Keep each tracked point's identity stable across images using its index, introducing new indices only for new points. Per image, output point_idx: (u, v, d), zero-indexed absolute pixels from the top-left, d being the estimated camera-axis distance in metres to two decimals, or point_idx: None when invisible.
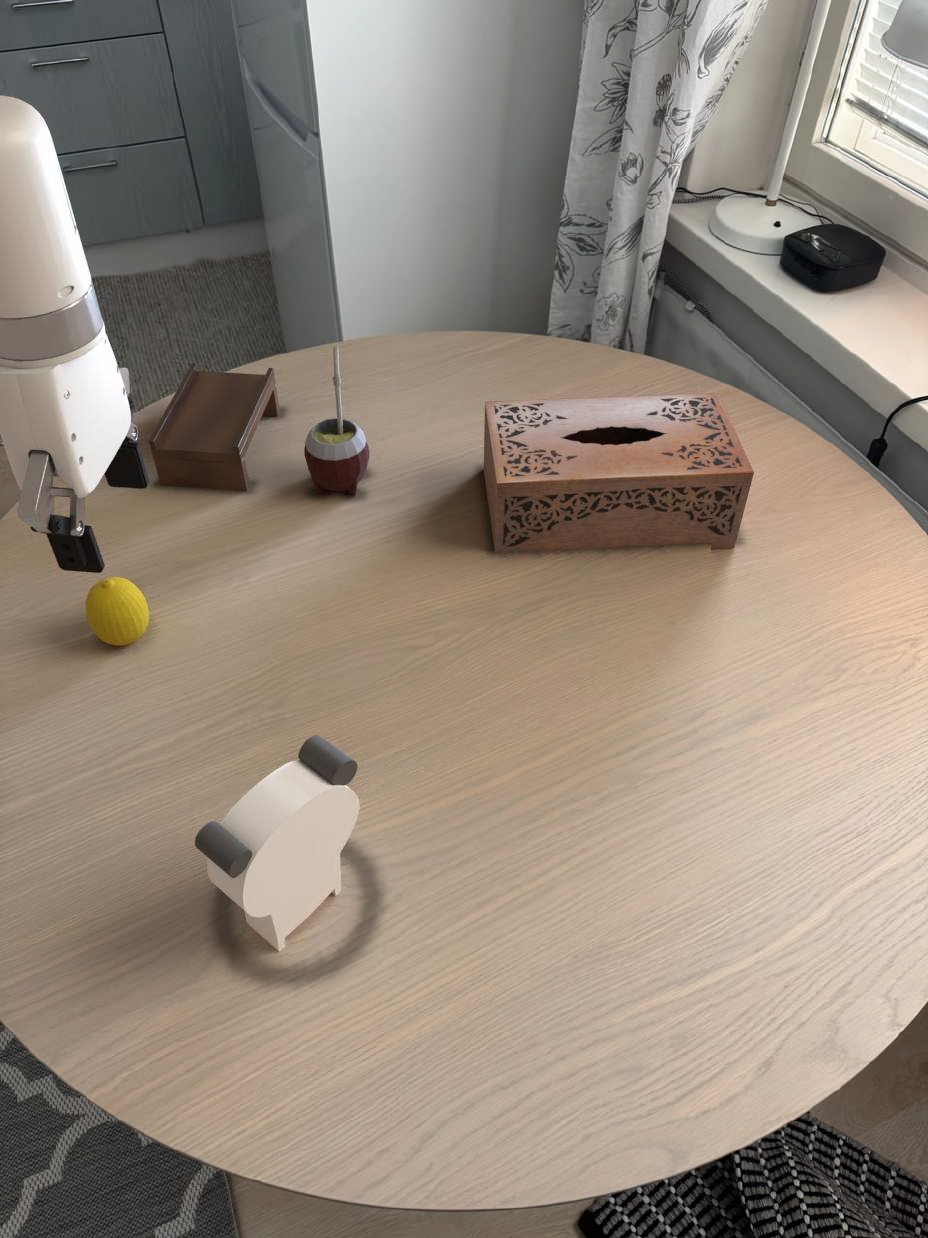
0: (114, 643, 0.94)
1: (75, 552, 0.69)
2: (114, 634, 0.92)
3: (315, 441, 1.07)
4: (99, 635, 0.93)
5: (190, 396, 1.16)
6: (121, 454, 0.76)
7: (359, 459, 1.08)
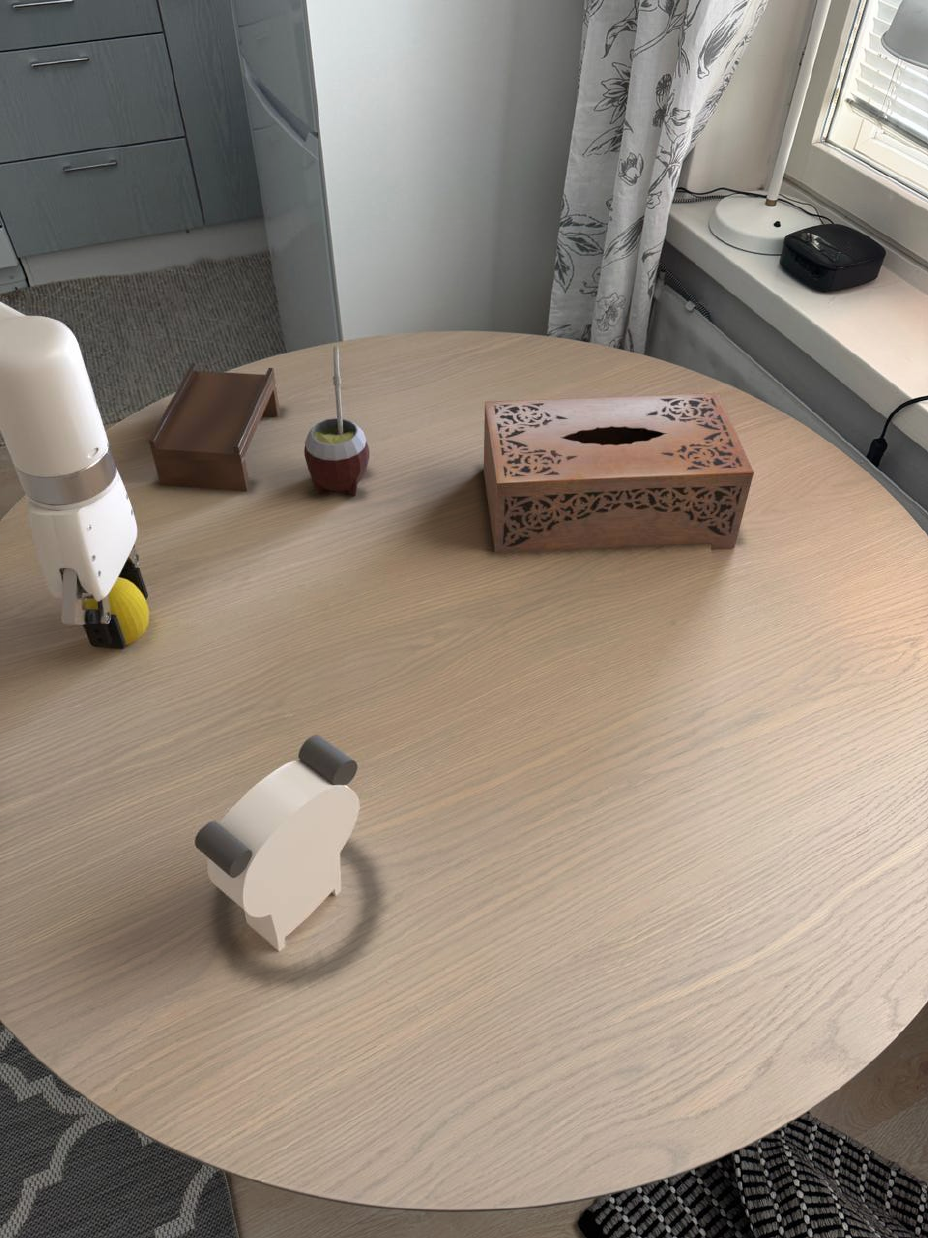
0: None
1: (103, 635, 0.90)
2: None
3: (315, 441, 1.07)
4: None
5: (190, 396, 1.16)
6: (125, 576, 0.94)
7: (359, 459, 1.08)
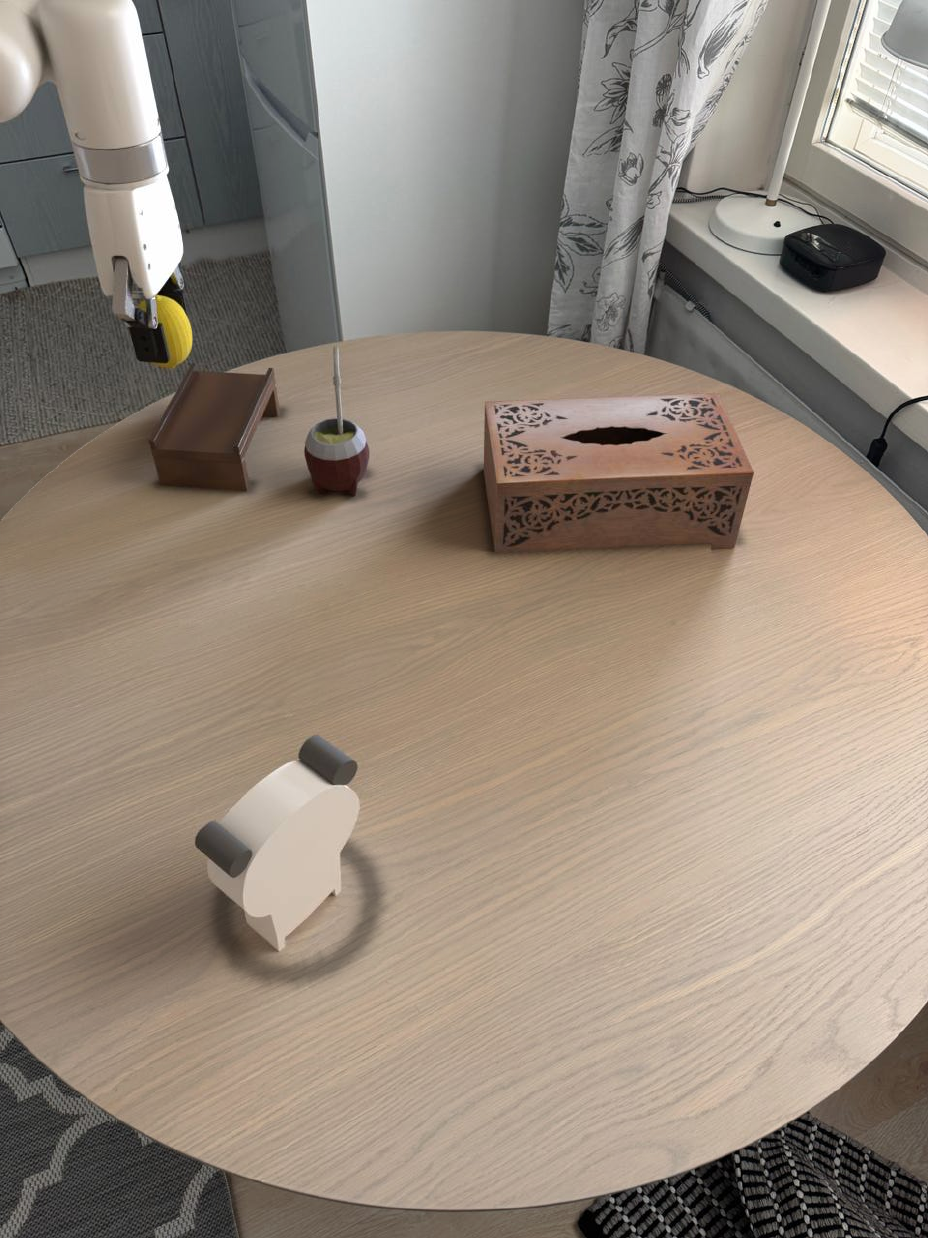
0: None
1: (150, 343, 0.94)
2: None
3: (315, 441, 1.07)
4: None
5: (190, 396, 1.16)
6: None
7: (359, 459, 1.08)
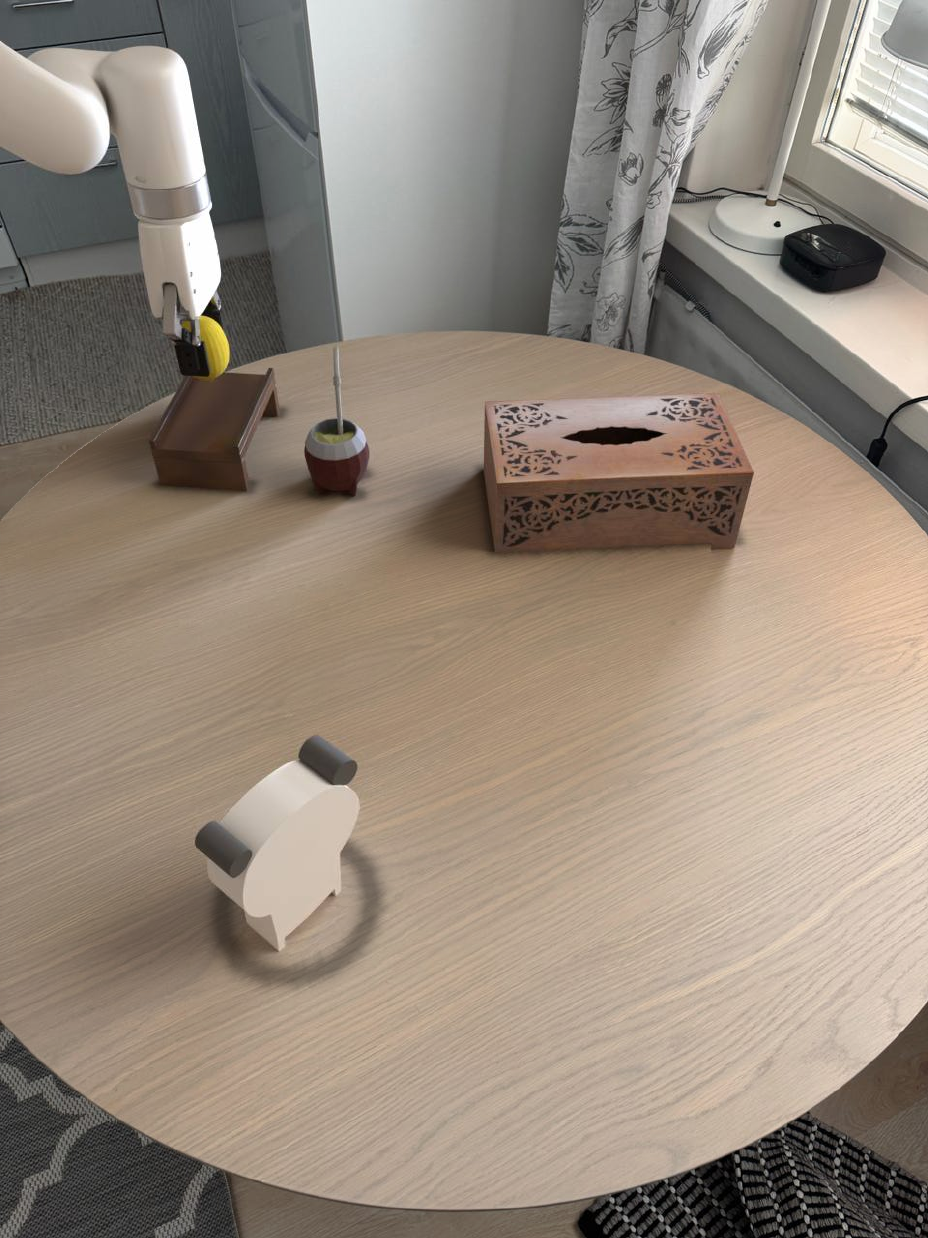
0: None
1: (193, 359, 1.05)
2: None
3: (315, 441, 1.07)
4: None
5: (190, 396, 1.16)
6: None
7: (359, 459, 1.08)
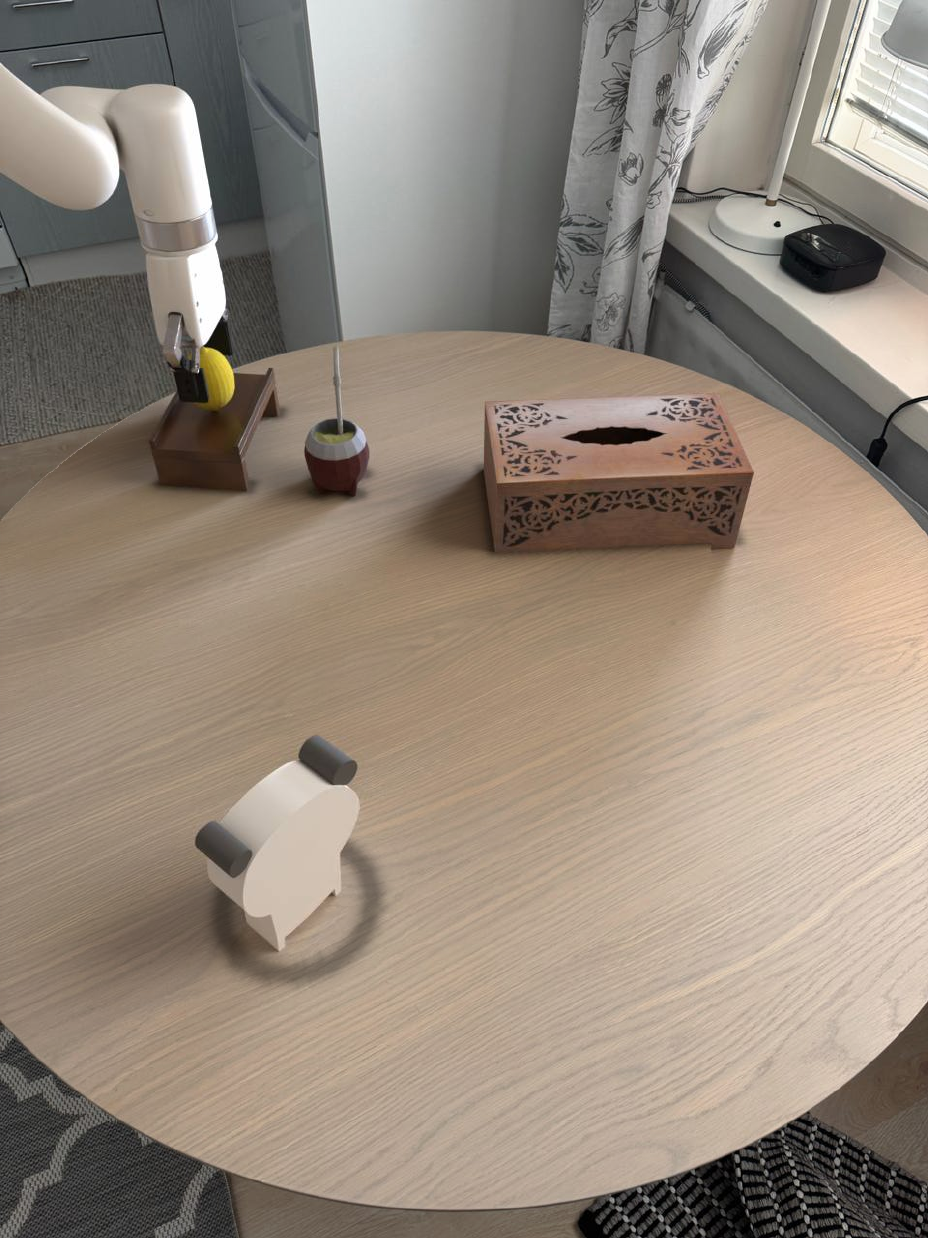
0: (206, 405, 1.11)
1: (192, 385, 1.05)
2: None
3: (315, 441, 1.07)
4: None
5: None
6: (216, 329, 1.12)
7: (359, 459, 1.08)
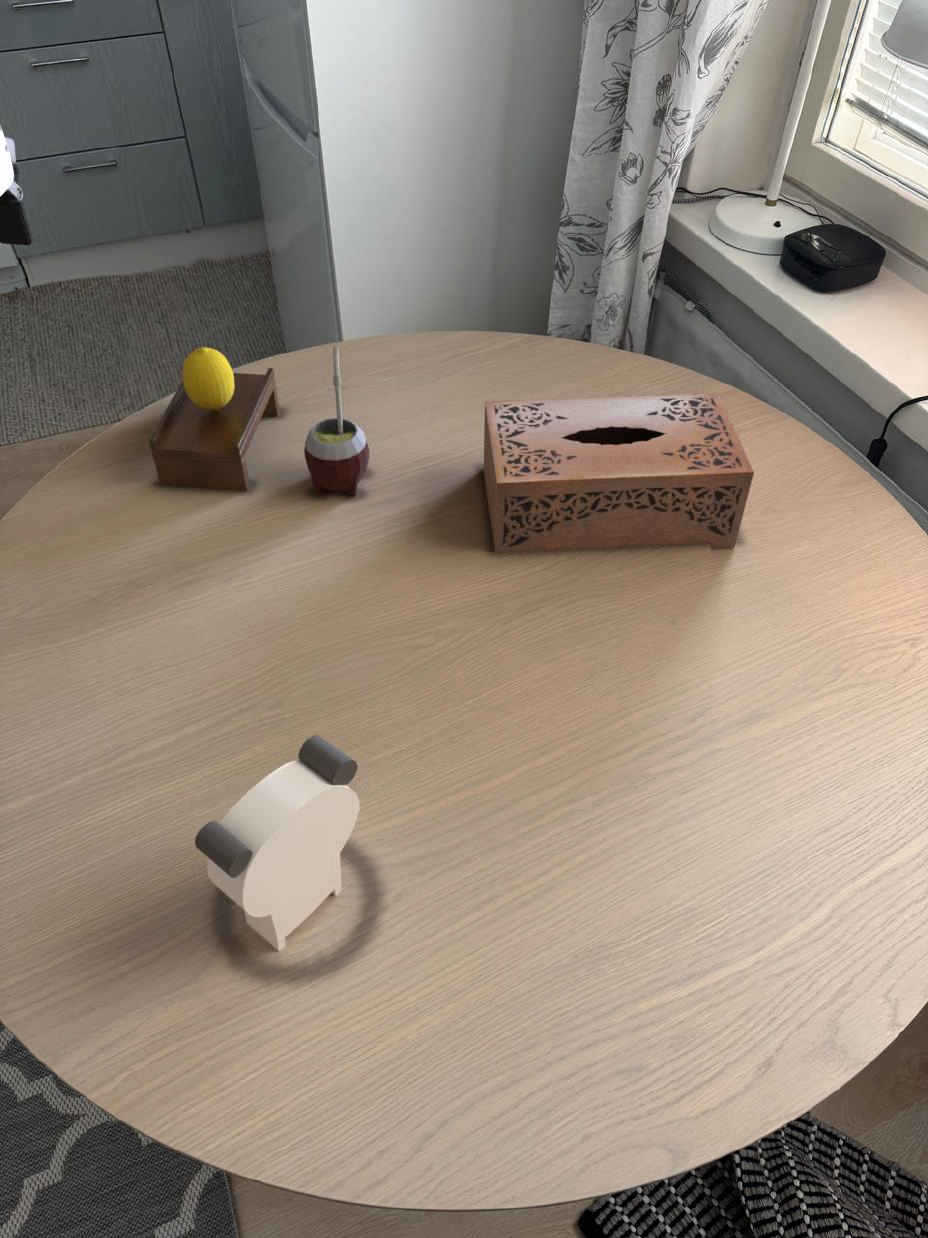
0: (206, 405, 1.11)
1: None
2: (207, 394, 1.09)
3: (315, 441, 1.07)
4: (194, 396, 1.10)
5: None
6: (8, 211, 0.93)
7: (359, 459, 1.08)
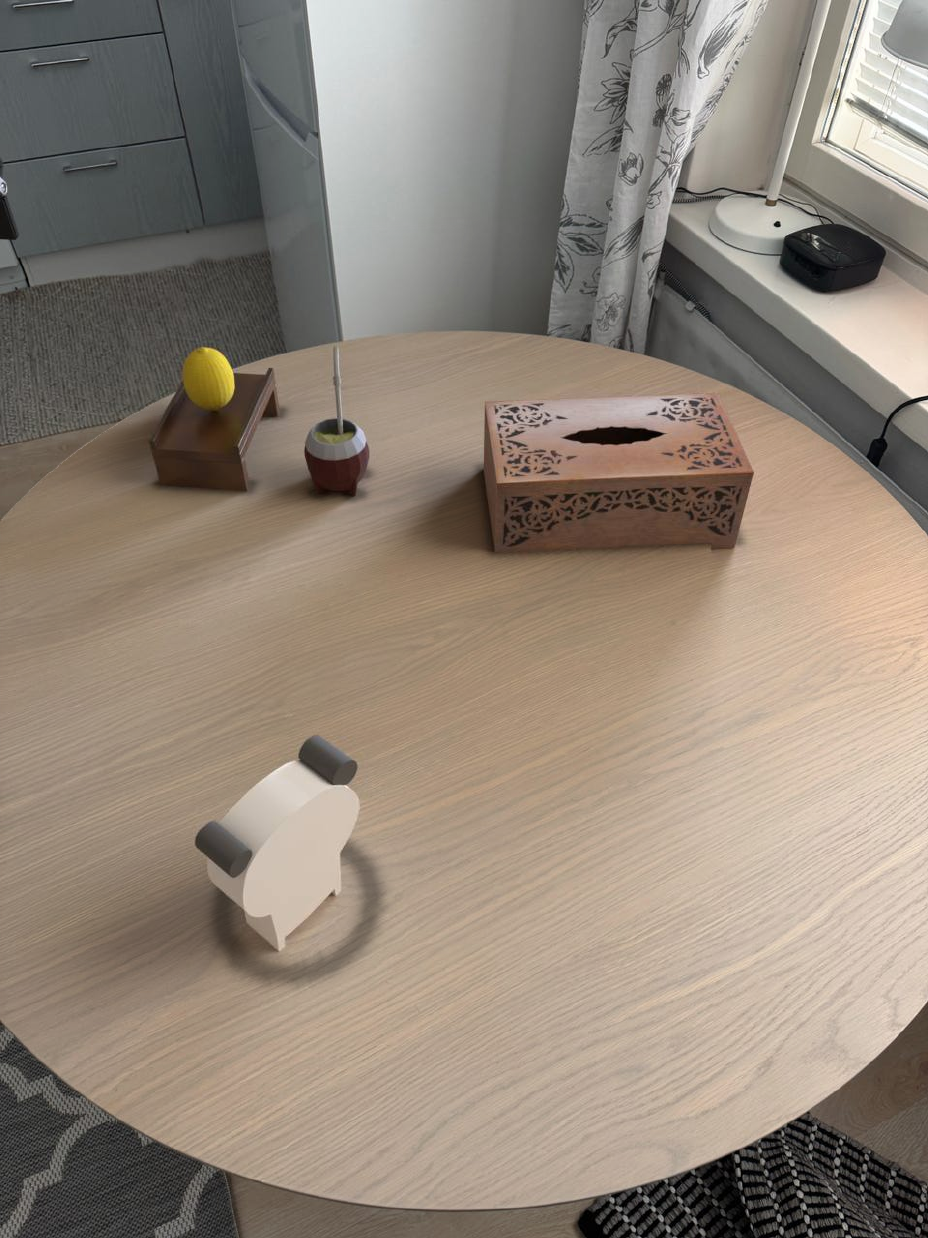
0: (206, 405, 1.11)
1: None
2: (207, 394, 1.09)
3: (315, 441, 1.07)
4: (194, 396, 1.10)
5: None
6: None
7: (359, 459, 1.08)
